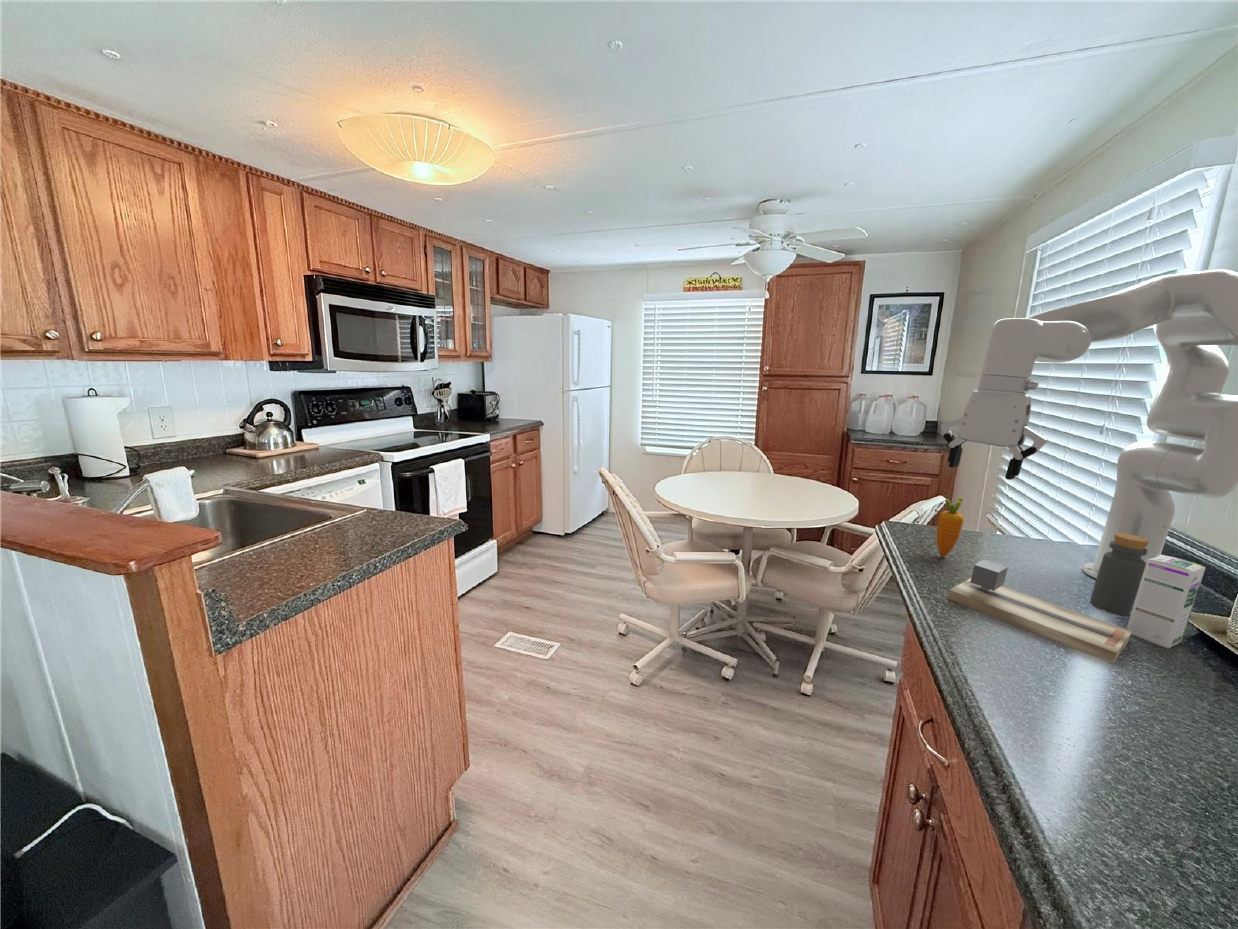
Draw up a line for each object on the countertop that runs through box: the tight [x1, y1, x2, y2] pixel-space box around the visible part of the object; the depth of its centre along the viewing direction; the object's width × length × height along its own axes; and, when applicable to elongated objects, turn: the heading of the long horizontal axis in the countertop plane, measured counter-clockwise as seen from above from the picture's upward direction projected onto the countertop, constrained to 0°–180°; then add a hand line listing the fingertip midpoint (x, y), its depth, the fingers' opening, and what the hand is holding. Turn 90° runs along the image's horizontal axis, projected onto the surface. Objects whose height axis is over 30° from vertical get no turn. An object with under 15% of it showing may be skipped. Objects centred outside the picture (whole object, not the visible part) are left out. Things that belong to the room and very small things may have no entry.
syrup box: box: [1126, 554, 1206, 649], centre depth 86 cm, size 6×6×14 cm
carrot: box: [936, 497, 965, 558], centre depth 117 cm, size 5×5×15 cm
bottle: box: [1089, 533, 1149, 616], centre depth 96 cm, size 6×6×15 cm
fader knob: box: [970, 559, 1009, 591], centre depth 97 cm, size 5×4×5 cm
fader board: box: [947, 577, 1132, 665], centre depth 91 cm, size 12×24×2 cm, turn 35°
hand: (980, 472), depth 97 cm, fingers open, 9 cm apart
